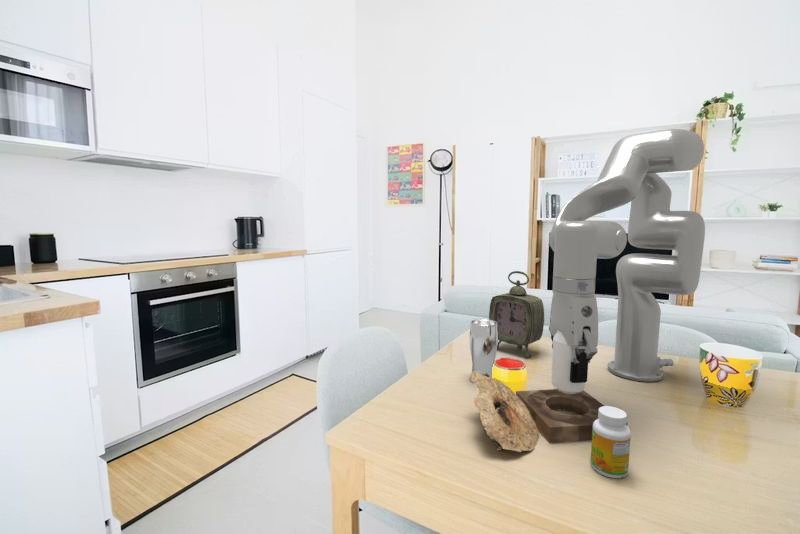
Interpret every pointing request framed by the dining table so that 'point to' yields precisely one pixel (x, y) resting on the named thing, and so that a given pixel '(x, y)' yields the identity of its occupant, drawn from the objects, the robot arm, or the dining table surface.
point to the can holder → (558, 424)
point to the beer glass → (483, 345)
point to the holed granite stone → (504, 415)
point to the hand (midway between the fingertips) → (568, 374)
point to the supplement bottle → (610, 443)
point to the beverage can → (563, 366)
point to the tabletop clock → (518, 316)
